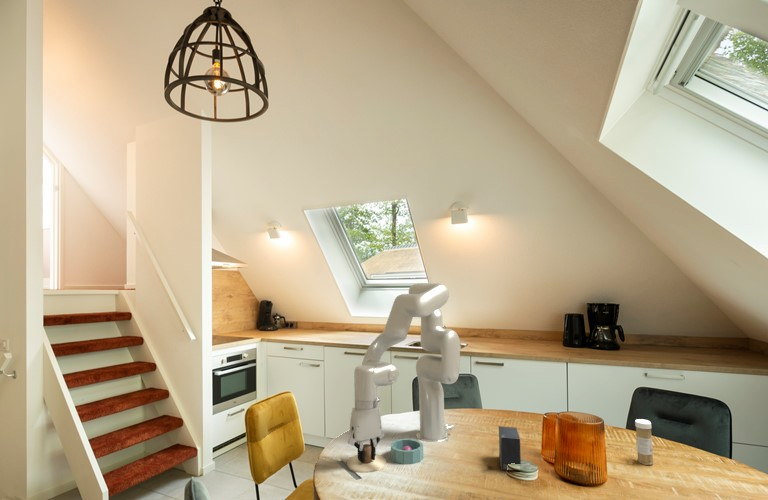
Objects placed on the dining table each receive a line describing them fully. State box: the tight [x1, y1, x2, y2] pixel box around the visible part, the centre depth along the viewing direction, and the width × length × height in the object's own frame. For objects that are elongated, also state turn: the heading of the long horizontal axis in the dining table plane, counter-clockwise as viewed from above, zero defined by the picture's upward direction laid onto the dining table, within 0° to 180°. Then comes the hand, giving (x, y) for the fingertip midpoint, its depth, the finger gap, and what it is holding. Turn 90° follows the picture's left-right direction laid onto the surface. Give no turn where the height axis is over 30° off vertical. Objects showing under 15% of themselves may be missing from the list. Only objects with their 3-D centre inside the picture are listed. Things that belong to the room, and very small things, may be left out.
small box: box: [498, 425, 522, 471], centre depth 139 cm, size 11×6×10 cm, turn 168°
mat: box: [336, 459, 362, 481], centre depth 139 cm, size 15×15×1 cm
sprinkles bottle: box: [634, 418, 654, 466], centre depth 138 cm, size 5×5×13 cm
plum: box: [402, 446, 412, 450], centre depth 143 cm, size 4×4×4 cm
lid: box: [346, 443, 387, 474], centre depth 139 cm, size 13×13×6 cm
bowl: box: [390, 438, 424, 465], centre depth 143 cm, size 11×11×5 cm
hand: (366, 459), depth 139 cm, fingers closed on lid, 3 cm apart
